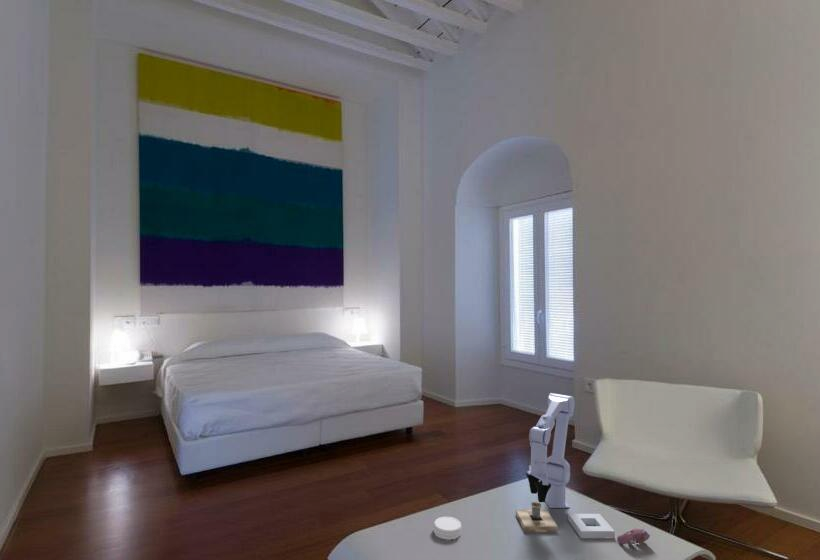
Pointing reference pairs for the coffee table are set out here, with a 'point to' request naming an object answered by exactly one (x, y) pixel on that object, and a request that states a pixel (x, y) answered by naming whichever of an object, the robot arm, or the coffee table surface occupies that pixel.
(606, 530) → the dock
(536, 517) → the lock pin
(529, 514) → the pin mount
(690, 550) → the coffee table surface
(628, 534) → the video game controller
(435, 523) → the white round disc
